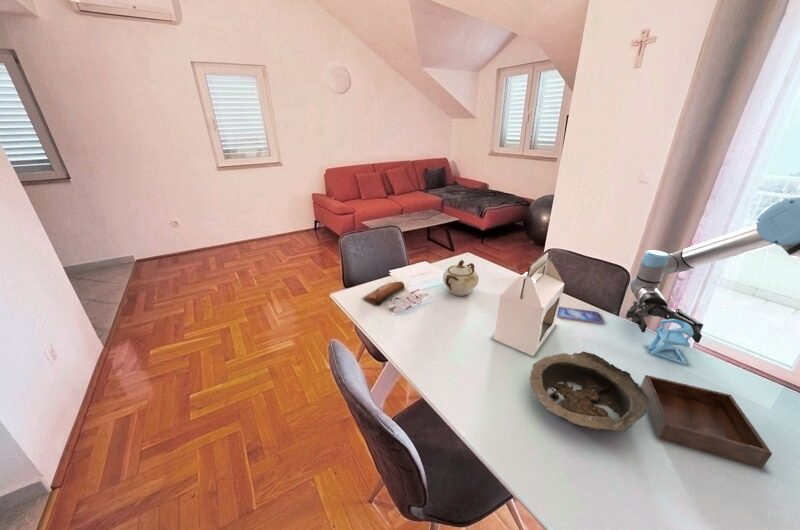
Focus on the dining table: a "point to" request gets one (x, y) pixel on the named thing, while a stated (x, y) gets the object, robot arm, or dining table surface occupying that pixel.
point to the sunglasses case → (384, 292)
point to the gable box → (529, 307)
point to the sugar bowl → (460, 278)
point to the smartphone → (579, 315)
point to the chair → (672, 339)
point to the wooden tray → (703, 421)
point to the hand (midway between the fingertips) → (670, 333)
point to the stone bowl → (588, 391)
